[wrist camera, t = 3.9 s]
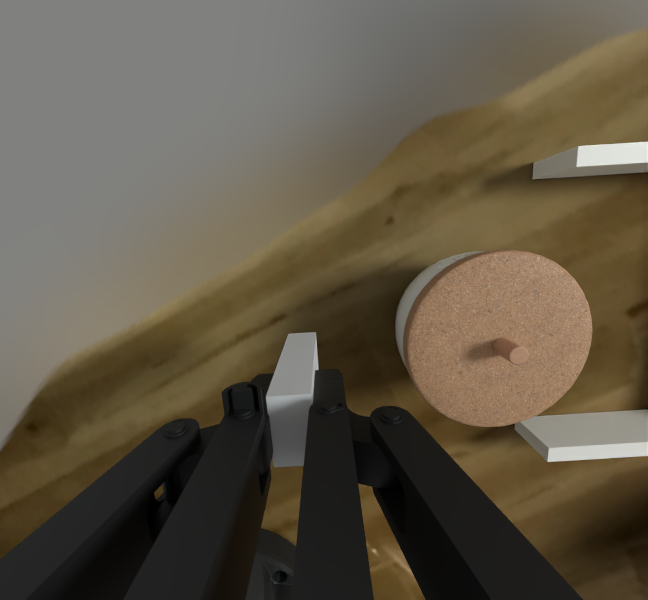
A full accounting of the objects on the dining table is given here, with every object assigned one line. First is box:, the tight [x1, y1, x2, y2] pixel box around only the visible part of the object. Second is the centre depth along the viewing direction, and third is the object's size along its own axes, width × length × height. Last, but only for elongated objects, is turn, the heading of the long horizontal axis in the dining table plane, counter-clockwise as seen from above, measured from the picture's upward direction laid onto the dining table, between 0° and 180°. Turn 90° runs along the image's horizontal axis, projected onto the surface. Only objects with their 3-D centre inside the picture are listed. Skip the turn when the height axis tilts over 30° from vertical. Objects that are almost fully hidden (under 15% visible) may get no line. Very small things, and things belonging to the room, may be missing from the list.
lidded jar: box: [395, 250, 592, 427], centre depth 20 cm, size 11×11×9 cm
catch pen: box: [515, 142, 648, 462], centre depth 23 cm, size 15×22×4 cm
